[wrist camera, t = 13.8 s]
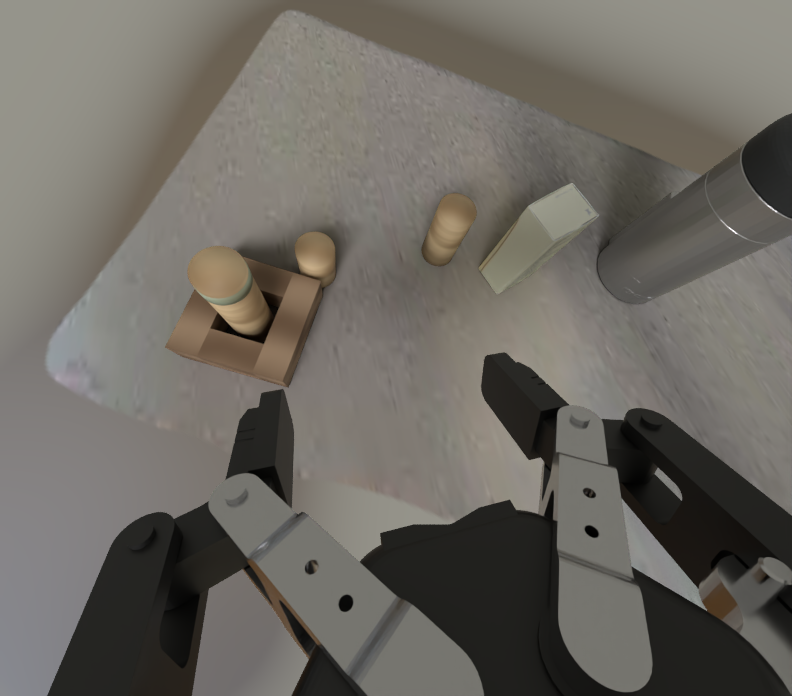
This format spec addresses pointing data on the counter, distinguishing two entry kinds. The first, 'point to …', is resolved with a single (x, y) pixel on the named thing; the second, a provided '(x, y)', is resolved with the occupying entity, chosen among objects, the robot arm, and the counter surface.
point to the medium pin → (448, 228)
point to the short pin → (316, 257)
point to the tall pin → (231, 291)
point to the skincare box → (537, 237)
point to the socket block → (271, 361)
